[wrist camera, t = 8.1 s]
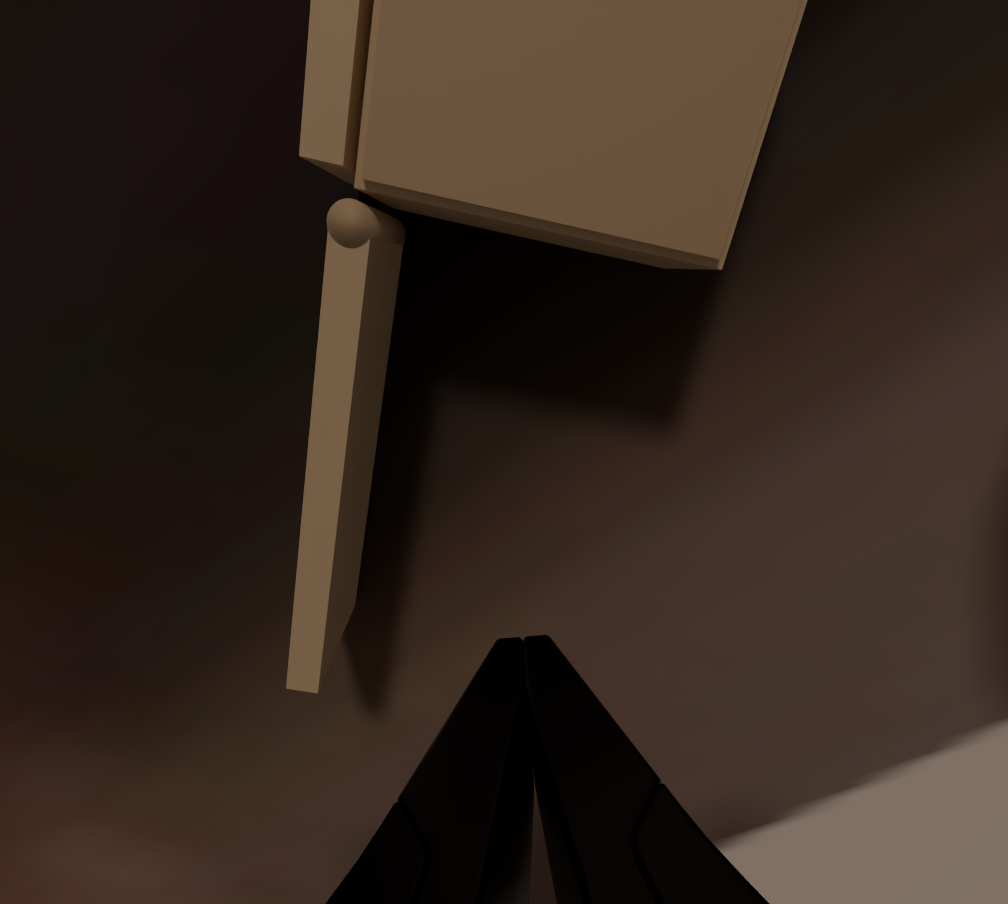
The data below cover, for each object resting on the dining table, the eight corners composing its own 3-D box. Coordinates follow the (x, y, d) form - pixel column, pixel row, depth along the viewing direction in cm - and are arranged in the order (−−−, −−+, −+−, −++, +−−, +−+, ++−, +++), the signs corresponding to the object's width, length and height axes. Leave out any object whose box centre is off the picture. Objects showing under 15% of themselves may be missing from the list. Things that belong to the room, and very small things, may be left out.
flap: (356, 604, 22) (319, 693, 17) (328, 600, 22) (284, 688, 17) (408, 220, 17) (376, 203, 13) (373, 212, 17) (329, 193, 13)
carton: (770, -110, 15) (904, -293, 10) (663, 268, 18) (725, 269, 13) (396, -215, 14) (342, -469, 9) (352, 199, 17) (294, 173, 12)
